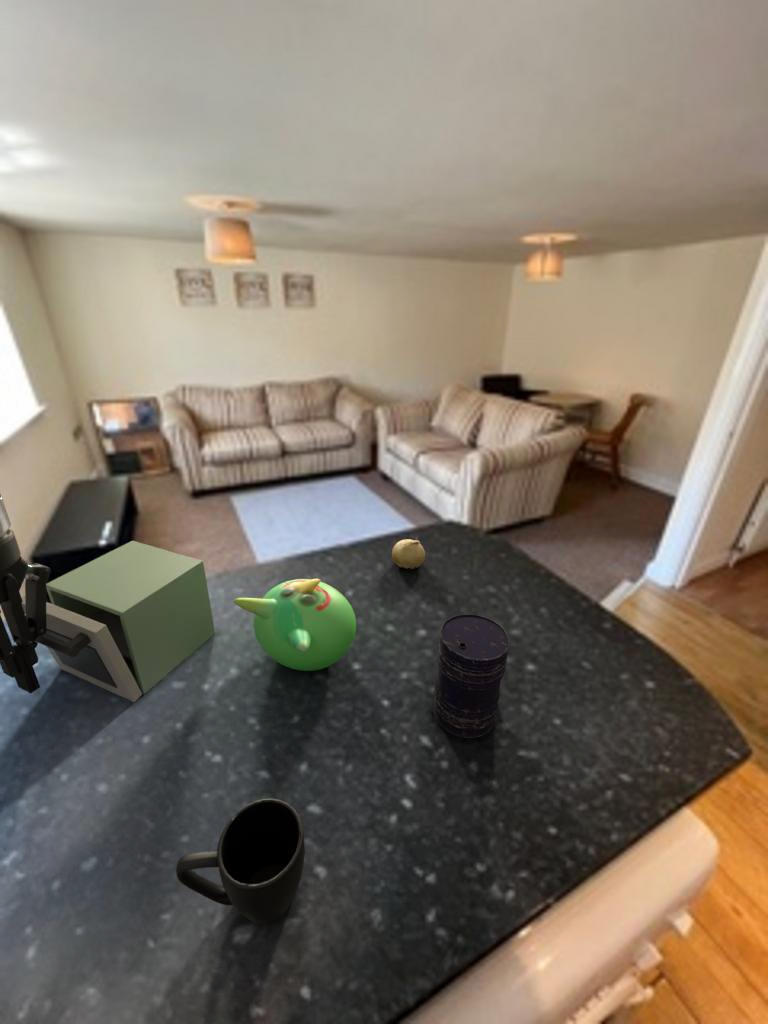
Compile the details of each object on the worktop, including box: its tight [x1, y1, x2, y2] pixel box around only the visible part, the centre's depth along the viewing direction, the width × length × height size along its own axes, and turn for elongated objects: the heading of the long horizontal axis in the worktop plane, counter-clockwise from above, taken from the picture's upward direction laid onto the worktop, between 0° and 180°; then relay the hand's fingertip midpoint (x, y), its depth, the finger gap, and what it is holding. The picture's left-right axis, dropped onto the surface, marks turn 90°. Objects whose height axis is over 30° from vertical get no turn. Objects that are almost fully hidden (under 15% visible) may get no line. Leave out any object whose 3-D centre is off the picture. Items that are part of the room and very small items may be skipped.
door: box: [21, 595, 143, 703], centre depth 68 cm, size 5×17×16 cm, turn 67°
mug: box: [175, 798, 306, 926], centre depth 45 cm, size 8×12×10 cm
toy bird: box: [233, 578, 357, 672], centre depth 77 cm, size 18×17×15 cm
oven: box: [46, 540, 216, 695], centre depth 77 cm, size 16×17×16 cm
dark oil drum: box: [432, 613, 510, 739], centre depth 67 cm, size 10×10×15 cm
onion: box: [391, 536, 426, 570], centre depth 107 cm, size 8×8×7 cm
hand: (29, 686), depth 63 cm, fingers closed
